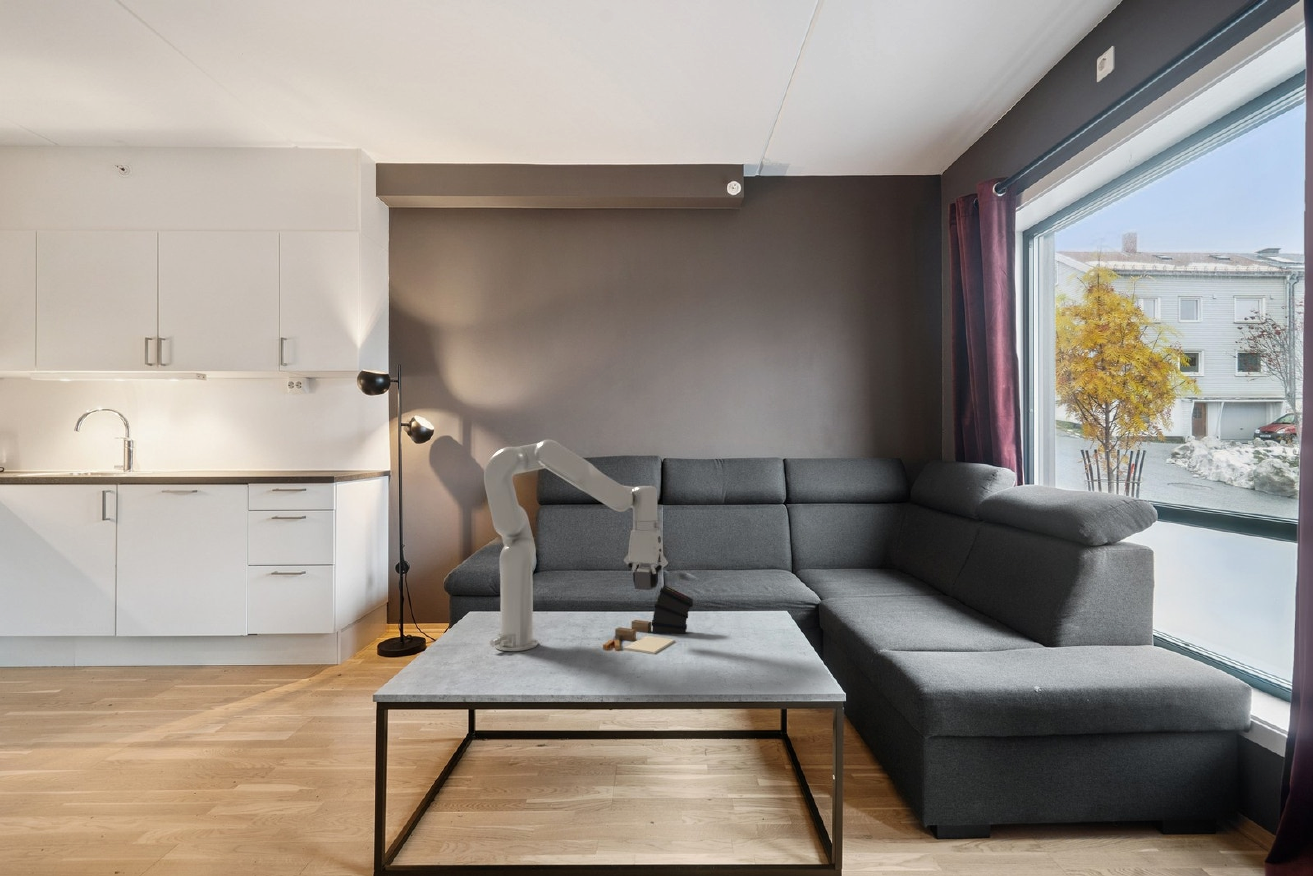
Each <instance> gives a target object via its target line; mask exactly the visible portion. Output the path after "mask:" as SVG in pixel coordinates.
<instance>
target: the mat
mask: <svg viewBox="0 0 1313 876" xmlns="http://www.w3.org/2000/svg"><path fill="white" fill-rule="evenodd" d="M675 642H676V639H673V638H667V637H666V638H665V637H658V636H653V635H645V636H642V637H641V638H639V639H636V641H635V640H634V641H632V642H631V643H630V644H628V645H626V646H624V647H623V651H624V650H625V651H631V652H636V653H637V652H638V653H645V654H651V655H655V654H657V653H658V652H660V651H662V650H663V649H665V648H667V647H668V646H670V645H672V644H673V643H675Z"/></svg>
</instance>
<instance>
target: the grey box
mask: <svg viewBox="0 0 1313 876" xmlns="http://www.w3.org/2000/svg"><path fill="white" fill-rule="evenodd" d="M651 574H652V569H651V566H650V567H648V566H647V567H646V566H640V567H639V568H638V569H637V571H635V586H634V589H635V590H645V591H651V590H653V589H655V588H657V586H655V587H651Z"/></svg>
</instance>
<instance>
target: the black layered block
mask: <svg viewBox="0 0 1313 876" xmlns="http://www.w3.org/2000/svg"><path fill="white" fill-rule="evenodd" d="M693 604H694V598H692V597H689V596H688V595H686V594H684V593H682V592H679V591H678V590H675V589H673V588H672V587H670V586H667V585H664V584H663V585H662V587H660V589H659V594H658V597H657V600H656V601H655V603H654V611H653V615H652V616H653V617H652V620H651V627H652V629H651V633H652V634H665V635H666V634H668V635H672V634H674V635H675V634H676V635H678V634H679V635H681V634H682V635H686V633H687V632H686V631H687V629H688V624H687V620H688V619H689V611H690V609H691V608H692V607H693V606H694V605H693Z"/></svg>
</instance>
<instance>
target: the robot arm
mask: <svg viewBox="0 0 1313 876" xmlns="http://www.w3.org/2000/svg"><path fill="white" fill-rule="evenodd" d="M543 469H546V470H548V471H550V472H551V473H553V474H554V475H556V476H558V477H560V478H561V479H563V480H564V481H566V482H567V483H569V484H571V485H572V486H574V487H576V488H577V489H579V490H580V491H582V492H584V493H586V494H588V495H589V496H591V497H592V498H594V499H596V500H597V501H599V502H601V503H602V504H603V505H605V506H607V507H608V508H610V509H612V510H614V511H616V512H625V511H627V510H629V509H632V530H631V531H630V537H629V541H628V542H629V543H628V552H627V555H626V556H625V557H624V559H623V562H624V563H625V564H626V565H627V566H628V568H629V569H630V570H631V573H632V575H633V576H632V577H633V578H632V579H633V580H632V581H633V585H634V587H635V571H637V569H638V568H641V564H647V565H650V567H651V569H652V574H651V587H655V586H656V587H657V586H658V583H659V573H660V571H661V570H662V569H663V568H664V567H666V566H667V565H668V564H669V561H668V560H667V559H666V557H665V555H664V547H663V546H664V545H663V539H662V534H661V530H658V529H659V528H662V523H661V522H659V520H658V489H657V488H656V487H655V486H654V485H639V486H638V485H637V486H630V485H622V484H620V483H619V482H617V481H615V480H614V479H613V478H611V477H609V476H607V475H606V474H604V473H603V472H602V471H600V470H599V469H598V468H597V467H596V466H595V465H593V463H591V462H589V461H588V460H587V459H585V458H583V457H581V456H579V454H577V453H575V452H573V451H571V449H570V450H569V448H567V447H565V446H563V445H562V444H560V442H558V441H556V440H553V439H543V440H542V441H540V442H537V443H536V442H535V443H532V444H526V445H520V446H506V447H503V448H500V449H499V450H497V451H496V452H495V453H494V454H493V455H492V456H491V457H490V458H489V460H488V461H487V463H486V466H485V468H484V473H483V483H484V489H485V493H486V497H487V503H488V506H489V507H488V508H489V511H490V514H491V519H492V525H493V528H494V530H495V532H496V533H497V534H498V535H500V536H501V541H502V543H503V547H502V549H501V551H500V555H499V561H498V562H499V563H498V565H499V577H500V580H499V581H500V585H499V587H500V588H499V589H500V632H499V633H498V637H496V638H494V639H491V640H490V643H489V644H490V646H491V647H495V648H496V649H497V650H500V651H502V652H503V651H505V652H521V651H527V650H530V649H533V648H536V647H537V645H538V643H539V640H538V639H537V638H536V637H533V635H534V634H533V632H534V631H533V630H534V628H533V626H534V622H533V619H534V618H533V617H534V613H533V612H534V609H533V608H534V605H533V604H534V603H533V602H534V601H533V600H534V596H533V595H534V594H533V585H534V584H533V561H534V560H535V557H536V553H537V548H536V543H535V539H534V536H533V532H532V528H531V525H530V520H529V516H528V514H527V512H526V510H525V509H524V507H522V506H521V505H519V501H518V497H517V493H516V489H515V485H514V482H513V479H514V476H515V475H517V474H523V473H527V472H533V471H538V470H543ZM659 563H660V564H659Z"/></svg>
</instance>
